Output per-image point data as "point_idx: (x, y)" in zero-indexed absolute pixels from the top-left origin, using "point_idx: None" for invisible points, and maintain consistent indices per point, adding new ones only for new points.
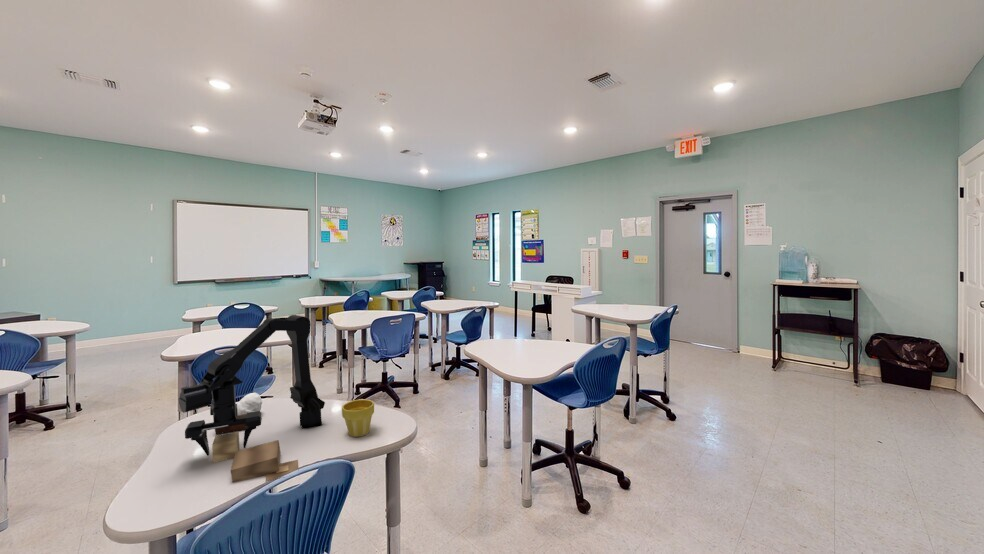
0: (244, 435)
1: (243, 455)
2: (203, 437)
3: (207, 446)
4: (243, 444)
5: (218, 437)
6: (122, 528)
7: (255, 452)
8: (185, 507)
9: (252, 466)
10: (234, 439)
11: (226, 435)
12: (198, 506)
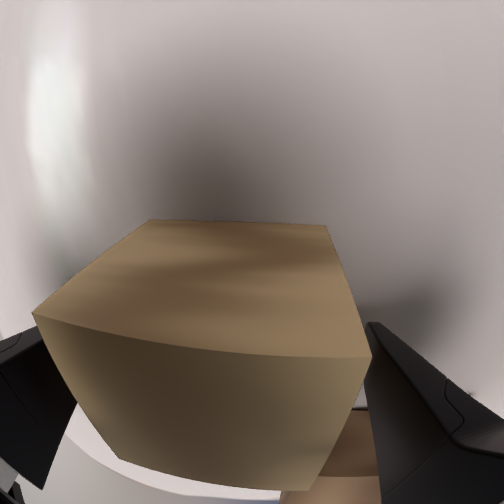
0: (382, 492)
1: (328, 500)
2: (38, 477)
3: None
4: (365, 389)
5: (91, 384)
6: (102, 462)
7: (377, 499)
8: (185, 483)
9: None
10: (291, 485)
11: (173, 392)
12: (213, 491)
